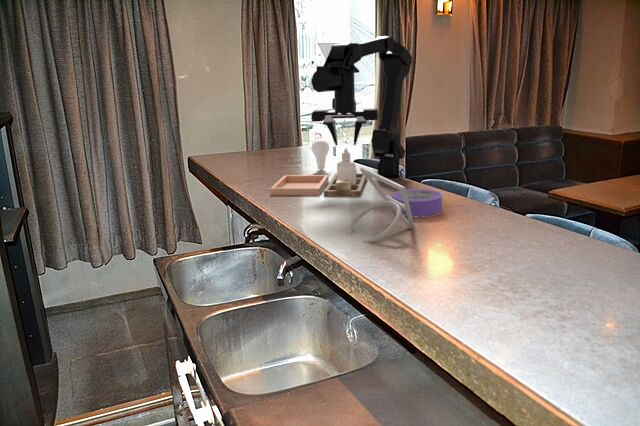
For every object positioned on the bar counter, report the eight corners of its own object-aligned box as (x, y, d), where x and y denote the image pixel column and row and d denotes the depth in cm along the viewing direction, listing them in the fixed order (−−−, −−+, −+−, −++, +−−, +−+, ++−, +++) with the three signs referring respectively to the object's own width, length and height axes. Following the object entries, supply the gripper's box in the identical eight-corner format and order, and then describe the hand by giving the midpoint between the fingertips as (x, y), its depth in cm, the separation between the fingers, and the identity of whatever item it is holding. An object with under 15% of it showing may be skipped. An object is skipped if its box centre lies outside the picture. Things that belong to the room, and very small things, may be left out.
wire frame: (351, 254, 119) (315, 204, 112) (394, 218, 121) (362, 166, 114) (391, 286, 104) (352, 230, 96) (440, 244, 105) (405, 186, 98)
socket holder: (366, 179, 167) (366, 173, 166) (360, 198, 144) (360, 191, 143) (335, 179, 168) (335, 173, 168) (324, 198, 145) (323, 191, 145)
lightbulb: (330, 171, 181) (328, 139, 178) (312, 172, 181) (310, 140, 178) (330, 168, 186) (328, 137, 183) (312, 169, 187) (311, 138, 184)
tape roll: (402, 223, 121) (402, 202, 119) (385, 210, 132) (385, 191, 130) (449, 218, 123) (450, 198, 121) (429, 206, 134) (430, 187, 132)
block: (351, 193, 150) (351, 179, 149) (350, 196, 146) (349, 182, 145) (337, 193, 151) (337, 179, 150) (335, 196, 147) (335, 182, 146)
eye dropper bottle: (344, 191, 152) (343, 150, 149) (336, 187, 157) (334, 148, 154) (357, 189, 154) (357, 149, 150) (349, 186, 159) (348, 146, 155)
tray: (328, 182, 164) (328, 175, 163) (319, 197, 147) (319, 188, 146) (284, 183, 166) (284, 175, 165) (270, 197, 149) (270, 188, 148)
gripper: (379, 87, 154) (379, 140, 159) (316, 89, 157) (318, 141, 162) (377, 89, 144) (377, 146, 148) (310, 91, 147) (312, 147, 151)
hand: (345, 145), depth 152 cm, fingers open, 5 cm apart
